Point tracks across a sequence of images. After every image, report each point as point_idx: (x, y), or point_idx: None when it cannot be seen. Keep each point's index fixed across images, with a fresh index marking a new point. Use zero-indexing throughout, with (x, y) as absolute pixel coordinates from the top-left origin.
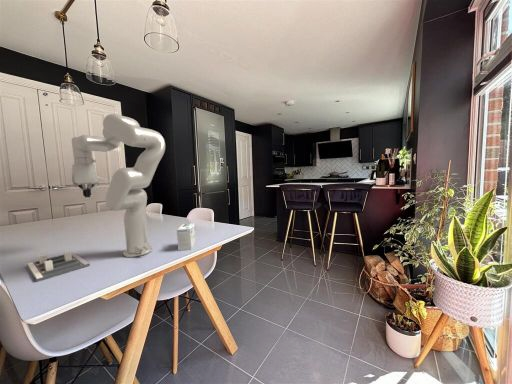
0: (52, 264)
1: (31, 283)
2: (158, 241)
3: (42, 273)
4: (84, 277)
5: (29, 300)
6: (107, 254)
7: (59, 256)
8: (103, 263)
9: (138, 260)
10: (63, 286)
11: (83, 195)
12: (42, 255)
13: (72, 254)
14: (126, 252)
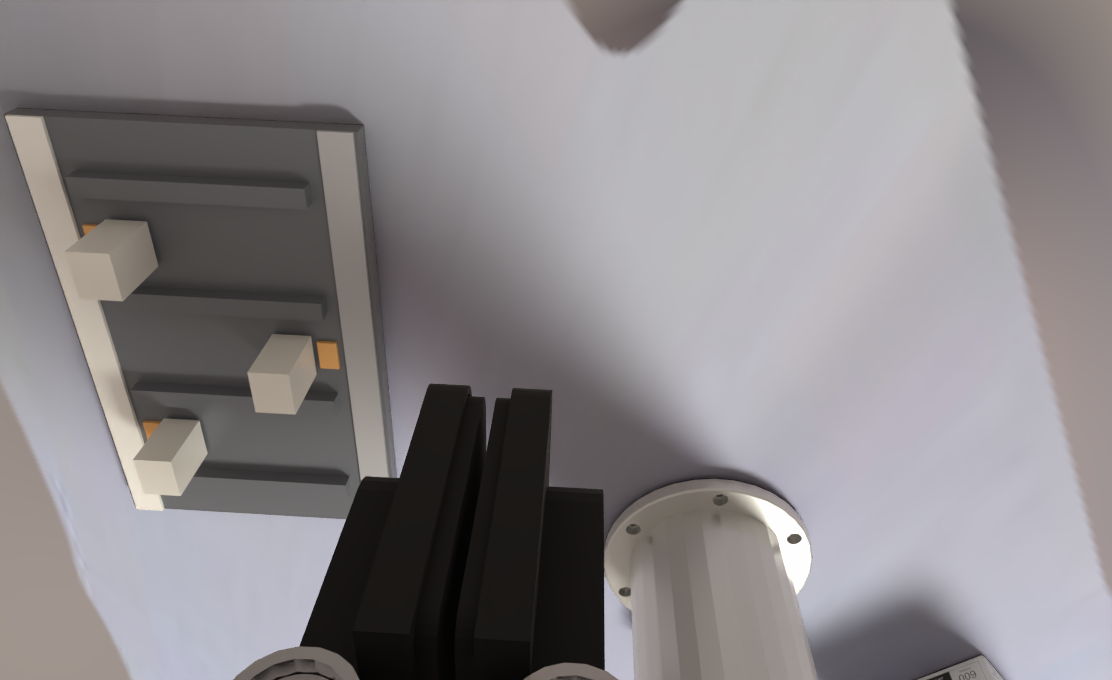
0: (189, 479)
1: (122, 493)
2: (977, 467)
3: None
4: None
5: (147, 647)
6: (556, 405)
7: (236, 204)
8: None
9: (617, 652)
10: (258, 636)
11: (367, 484)
12: (96, 285)
13: (337, 218)
14: (631, 544)
